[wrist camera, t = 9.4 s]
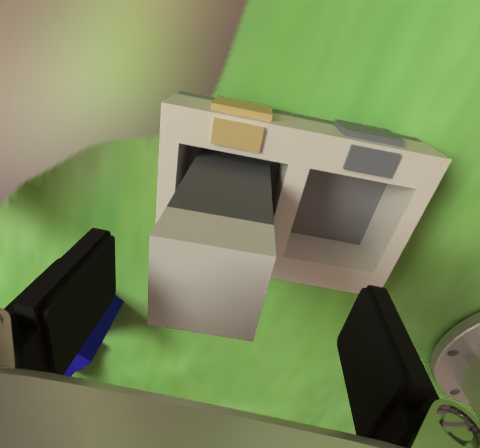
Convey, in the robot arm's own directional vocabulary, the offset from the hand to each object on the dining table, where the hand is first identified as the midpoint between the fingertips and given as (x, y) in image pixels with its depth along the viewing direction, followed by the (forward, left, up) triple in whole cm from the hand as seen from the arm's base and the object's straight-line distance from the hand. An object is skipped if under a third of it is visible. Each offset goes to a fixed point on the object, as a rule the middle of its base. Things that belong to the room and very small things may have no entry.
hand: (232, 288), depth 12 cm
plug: (+1, 0, -9) cm, 9 cm away
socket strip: (-2, 0, -10) cm, 10 cm away
